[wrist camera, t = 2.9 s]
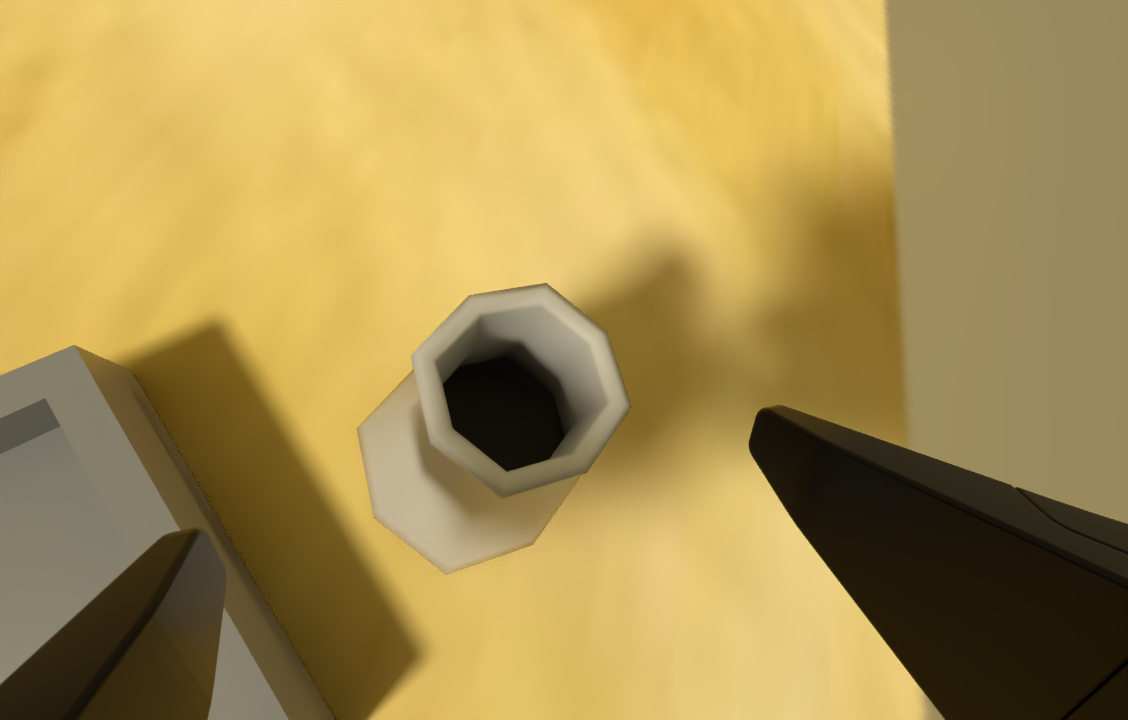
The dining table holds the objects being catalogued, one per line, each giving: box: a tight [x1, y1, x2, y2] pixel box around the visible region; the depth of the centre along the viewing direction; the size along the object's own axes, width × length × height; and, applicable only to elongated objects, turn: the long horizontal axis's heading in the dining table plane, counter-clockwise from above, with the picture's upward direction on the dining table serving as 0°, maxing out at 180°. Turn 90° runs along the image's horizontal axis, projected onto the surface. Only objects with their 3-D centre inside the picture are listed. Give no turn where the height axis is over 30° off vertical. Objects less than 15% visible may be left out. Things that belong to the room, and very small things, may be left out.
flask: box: [357, 283, 631, 575], centre depth 12 cm, size 7×7×10 cm
